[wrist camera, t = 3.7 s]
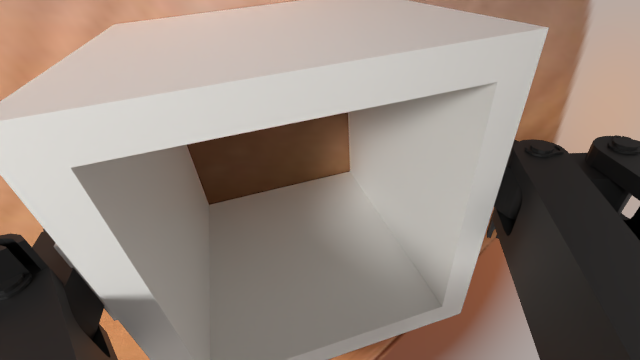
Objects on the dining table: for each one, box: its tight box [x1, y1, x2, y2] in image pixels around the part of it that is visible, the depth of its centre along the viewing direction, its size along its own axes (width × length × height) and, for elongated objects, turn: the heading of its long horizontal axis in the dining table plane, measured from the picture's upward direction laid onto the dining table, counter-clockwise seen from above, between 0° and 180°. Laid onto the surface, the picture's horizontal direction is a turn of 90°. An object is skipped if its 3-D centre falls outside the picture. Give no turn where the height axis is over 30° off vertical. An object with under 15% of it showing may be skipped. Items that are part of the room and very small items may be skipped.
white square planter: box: [0, 0, 549, 360], centre depth 10 cm, size 9×9×8 cm
